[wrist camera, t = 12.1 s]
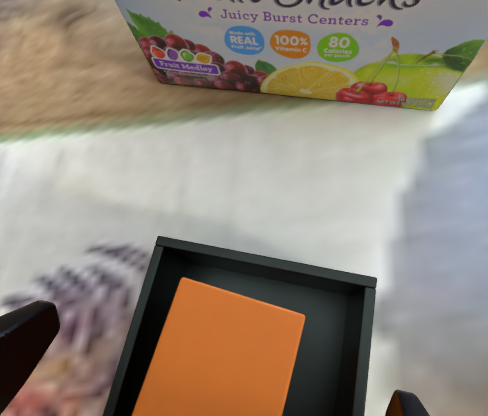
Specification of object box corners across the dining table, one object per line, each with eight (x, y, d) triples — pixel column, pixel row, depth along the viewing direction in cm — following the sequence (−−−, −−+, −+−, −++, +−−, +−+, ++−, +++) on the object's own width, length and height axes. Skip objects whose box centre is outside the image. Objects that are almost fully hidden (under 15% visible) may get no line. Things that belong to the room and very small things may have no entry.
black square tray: (332, 510, 17) (349, 580, 12) (133, 444, 19) (81, 483, 14) (356, 289, 20) (377, 277, 15) (185, 255, 22) (157, 235, 17)
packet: (261, 459, 17) (198, 765, 5) (208, 437, 18) (41, 663, 6) (295, 323, 19) (305, 315, 7) (246, 307, 20) (180, 276, 8)
